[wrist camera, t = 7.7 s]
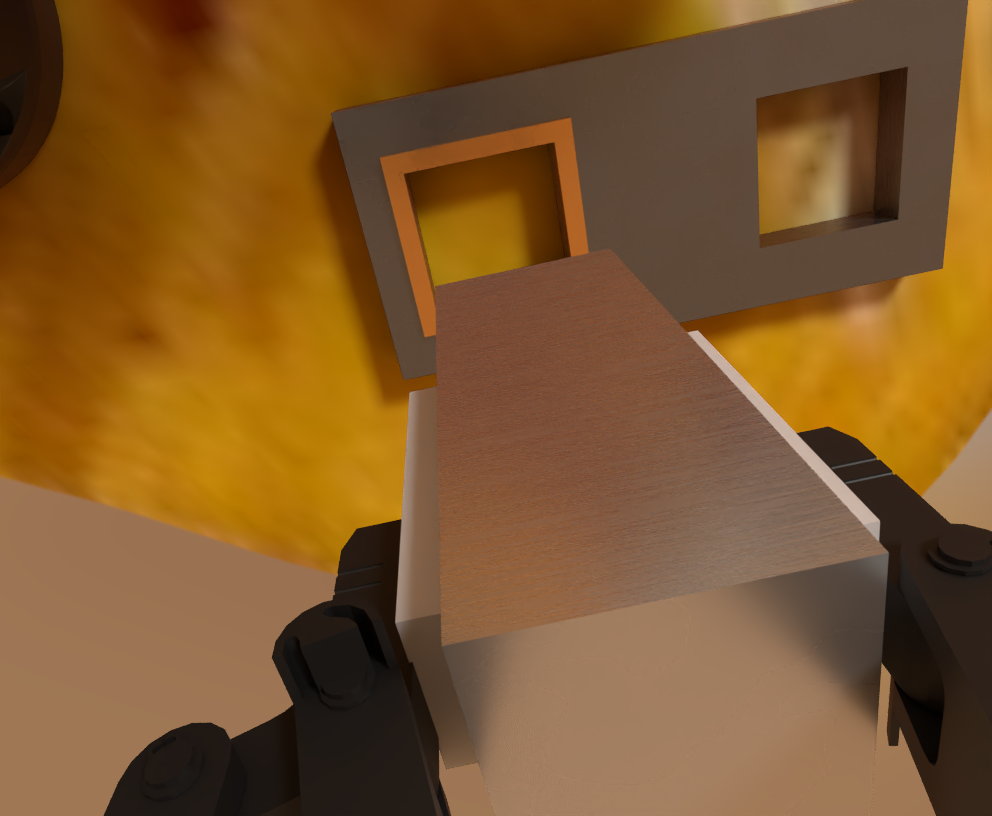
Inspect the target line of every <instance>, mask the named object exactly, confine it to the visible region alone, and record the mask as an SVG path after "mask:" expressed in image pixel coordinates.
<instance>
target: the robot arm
mask: <svg viewBox="0 0 992 816" xmlns="http://www.w3.org/2000/svg"><path fill="white" fill-rule="evenodd" d="M62 77H63V48H62V38H61V30H60V25H59V19H58V14H57V10H56V6H55V2H54V0H0V188H1V187H2V186H4V185H5V184H6V183H8V182H9V181H11V180H12V179H13V178H14V177H15V176H17V175H18V174H19V173H20V172H21V171H22V170H23V169H24V168H25V167H26V166H27V165H28V164H29V163H30V161H31V160H32V159H33V158H34V156H35V155H36V154H37V152H38V151H39V149H40V147H41V146H42V144H43V143H44V141H45V139H46V137H47V135H48V133H49V131H50V128H51V126H52V123H53V121H54V118H55V114H56V111H57V108H58V103H59V99H60V94H61V86H62ZM688 334H689V335H690V336H691V337H692V338H693V339H694V340H695V342H696V343H697V344H698V345H699V346H700V347H701V348H702V349H703V350H704V351H705V352H706V354H707V355H708V356H709V357H710V358H711V359H712V360H713V361H714V362H715V363H716V364H717V366H718V367H719V368H720V369H721V370H722V371H723V372H724V373H725V374H726V375H727V377H728V378H729V379H730V380H731V381H732V382H733V383H734V384H735V385H736V386H737V387H738V389H739V390H740V391H741V392H742V393H743V394H744V395H745V396H746V397H747V398H748V399H749V401H750V402H751V403H752V404H753V405H754V406H755V407H756V408H757V409H758V410H759V411H760V413H761V414H762V415H763V416H764V417H765V418H766V419H767V420H768V421H769V422H770V423H771V425H772V426H773V427H774V428H775V429H776V430H777V431H778V432H779V433H780V434H781V435H782V437H783V438H784V439H785V440H786V441H787V442H788V443H789V444H790V445H791V446H792V447H793V449H794V450H795V451H796V452H797V453H798V454H799V455H800V456H801V457H802V458H803V459H804V461H805V462H806V463H807V464H808V465H809V466H810V467H811V468H812V469H813V470H814V471H815V473H816V474H817V475H818V476H819V477H820V478H821V479H822V480H823V481H824V482H825V483H826V485H827V486H828V487H829V488H830V489H831V490H832V491H833V492H834V493H835V494H836V495H837V497H838V498H839V499H840V500H841V501H842V502H843V503H844V504H845V505H846V506H847V507H848V509H849V510H850V511H851V512H852V513H853V514H854V515H855V516H856V517H857V518H858V519H859V521H860V522H861V523H862V524H863V525H864V526H865V527H866V528H867V529H868V530H869V531H870V533H871V534H872V535H873V536H874V537H875V538H876V539H877V540H878V541H879V542H880V544H881V545H882V546H883V547H884V548H885V549H886V550H887V551H888V552H889V557H888V572H887V587H886V602H885V617H884V632H883V647H882V664H883V665H884V666H885V668H886V669H887V670H888V672H889V673H890V674H891V682H890V683H891V684H890V696H889V708H888V722H887V736H888V742H889V746H898V740H899V728H901V730H902V733H903V735H904V738H905V740H906V742H907V745H908V747H909V750H910V752H911V755H912V757H913V760H914V762H915V765H916V767H917V769H918V772H919V774H920V777H921V779H922V782H923V784H924V787H925V789H926V792H927V794H928V797H929V799H930V802H931V804H932V806H933V809H934V811H935V814H936V816H992V532H991V531H989V530H986V529H982V528H977V527H974V526H969V525H965V524H950V523H949V522H948V521H947V520H946V519H945V518H944V517H943V516H941V515H940V514H939V513H938V512H937V511H936V510H935V509H934V508H933V507H932V506H930V505H929V504H928V503H927V502H926V501H925V500H924V499H923V498H922V497H921V496H919V495H918V494H917V493H916V492H915V491H914V490H913V489H912V488H911V487H910V486H908V485H907V484H906V483H905V482H904V481H903V480H902V479H901V478H900V477H899V476H897V475H896V474H895V475H893V473H892V470H891V469H890V468H889V467H887V466H886V465H885V464H884V463H883V462H882V461H881V460H877V458H876V456H875V455H874V454H873V453H872V452H871V451H870V450H869V449H868V448H867V447H865V446H864V445H863V444H862V443H861V442H860V441H859V440H858V439H856V438H854V437H851V436H849V435H847V434H844V433H842V432H840V431H837V430H835V429H833V428H831V427H824V428H819V429H815V430H810V431H805V432H800V433H795V432H794V430H793V429H792V428H791V427H790V426H789V425H788V424H787V423H786V422H785V421H784V420H783V419H782V418H781V417H780V416H779V415H778V414H777V413H776V412H775V411H774V410H773V409H772V408H771V406H770V405H769V404H768V403H767V402H766V401H765V400H764V399H763V398H762V397H761V396H760V395H759V394H758V393H757V392H756V391H755V390H754V389H753V388H752V387H751V386H750V385H749V383H748V382H747V381H746V380H745V379H744V378H743V377H742V376H741V375H740V374H739V373H738V372H737V371H736V370H735V369H734V368H733V367H732V366H731V365H730V364H729V363H728V362H727V361H726V359H725V358H724V357H723V356H722V355H721V354H720V353H719V352H718V351H717V350H716V349H715V348H714V347H713V346H712V345H711V344H710V343H709V342H708V341H707V340H706V339H705V338H704V337H703V335H702V334H701V333H700V332H699V331H698V330H697V331H692V332H688ZM334 591H335V595H333V600H331V601H327V602H323V603H321V604H319V605H316V606H314V607H313V608H310V609H308V610H306V611H304V612H303V613H301V614H300V615H299V616H298V617H297V618H295V619H294V620H293V621H292V622H291V623H289V624H288V625H287V626H286V627H285V629H284V630H283V632H282V633H281V635H280V636H279V637H278V639H277V640H276V642H275V647H274V651H273V655H272V659H273V661H274V663H275V665H276V667H277V670H278V672H279V674H280V676H281V678H282V680H283V683H284V685H285V687H286V689H287V691H288V693H289V695H290V698H291V700H292V702H293V705H292V706H291V707H290V708H289V709H287V710H286V711H285V712H283V713H282V714H280V715H278V716H276V717H275V718H273V719H271V720H269V721H268V722H265V723H263V724H261V725H259V726H257V727H255V728H253V729H251V730H249V731H247V732H245V733H243V734H241V735H239V736H236V737H234V738H232V739H230V738H229V737H228V735H227V733H226V731H225V730H224V729H223V728H221V727H218V726H217V725H215V724H213V723H191V724H188V725H186V726H182V727H180V728H176V729H174V730H171V731H169V732H168V733H166V734H165V735H163V736H162V737H160V738H158V739H157V740H155V741H153V742H152V743H150V744H149V745H148V746H147V747H146V748H145V749H144V750H143V751H142V752H141V753H140V754H139V755H138V756H137V757H136V758H135V759H134V760H133V761H132V762H131V763H130V765H129V766H128V768H127V769H126V771H125V773H124V774H123V776H122V778H121V779H120V781H119V782H118V784H117V787H116V789H115V791H114V794H113V796H112V798H111V800H110V803H109V805H108V807H107V809H106V812H105V814H104V816H451V814H450V810H449V806H448V802H447V799H446V796H445V793H444V791H443V788H442V785H441V782H440V779H439V750H440V753H441V756H442V758H443V761H444V764H445V767H446V769H450V768H454V767H459V766H464V765H469V764H474V763H478V760H477V757H476V754H475V751H474V748H473V744H472V741H471V738H470V735H469V732H468V728H467V725H466V722H465V719H464V716H463V713H462V709H461V706H460V703H459V700H458V697H457V694H456V690H455V687H454V684H453V681H452V678H451V674H450V671H449V668H448V665H447V662H446V659H445V655H444V652H443V649H442V642H441V586H440V530H439V473H438V417H437V386H436V387H432V388H427V389H422V390H418V391H413V392H410V394H409V410H408V426H407V442H406V458H405V474H404V490H403V507H402V519H400V520H396V521H391V522H386V523H382V524H377V525H372V526H367V527H363V528H358V529H356V531H355V532H354V533H353V535H352V536H351V538H350V539H349V540H348V542H347V543H346V545H345V546H344V547H343V549H342V550H341V556H340V561H339V567H338V577H337V578H336V584H335V589H334Z"/></svg>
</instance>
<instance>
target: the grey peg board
mask: <svg viewBox="0 0 992 816" xmlns="http://www.w3.org/2000/svg"><path fill="white" fill-rule="evenodd" d="M967 6H968V0H853V1H848V2H844V3H839V4H834V5H829V6H825V7H820V8H815V9H811V10H806V11H801V12H796V13H792V14H787V15H782V16H778V17H773V18H768V19H764V20H759V21H754V22H749V23H745V24H740V25H735V26H731V27H726V28H721V29H716V30H712V31H707V32H702V33H698V34H693V35H688V36H683V37H679V38H674V39H669V40H665V41H660V42H655V43H651V44H646V45H641V46H636V47H632V48H627V49H622V50H618V51H613V52H608V53H603V54H599V55H594V56H589V57H585V58H580V59H575V60H570V61H566V62H561V63H556V64H552V65H547V66H542V67H537V68H533V69H528V70H523V71H519V72H514V73H509V74H505V75H500V76H495V77H490V78H486V79H481V80H476V81H472V82H467V83H462V84H457V85H453V86H448V87H443V88H439V89H434V90H429V91H424V92H420V93H415V94H410V95H406V96H401V97H396V98H392V99H387V100H382V101H377V102H373V103H368V104H363V105H359V106H354V107H349V108H344V109H340V110H336V111H334V112H333V113H331V116H332V119H333V123H334V127H335V130H336V134H337V138H338V141H339V145H340V149H341V152H342V156H343V160H344V163H345V167H346V171H347V174H348V178H349V182H350V185H351V189H352V193H353V196H354V200H355V204H356V207H357V211H358V215H359V218H360V222H361V226H362V229H363V233H364V236H365V240H366V244H367V247H368V251H369V255H370V258H371V262H372V266H373V269H374V273H375V277H376V280H377V284H378V288H379V291H380V295H381V299H382V302H383V306H384V310H385V313H386V317H387V321H388V324H389V328H390V332H391V335H392V339H393V343H394V346H395V350H396V354H397V357H398V361H399V365H400V368H401V372H402V376H403V379H404V380H406V379H411V378H416V377H420V376H425V375H430V374H435V373H437V361H436V305H435V289H434V285H433V280H432V276H431V272H430V268H429V264H428V259H427V255H426V251H425V247H424V242H423V238H422V234H421V230H420V226H419V221H418V217H417V213H416V209H415V204H414V200H413V196H412V192H411V187H410V183H409V179H408V175H407V173H410V172H415V171H420V170H424V169H429V168H434V167H439V166H443V165H448V164H453V163H458V162H462V161H467V160H472V159H476V158H481V157H486V156H491V155H495V154H500V153H505V152H510V151H514V150H519V149H524V148H529V147H533V146H538V145H543V144H548V148H549V155H550V161H551V168H552V175H553V182H554V188H555V195H556V202H557V209H558V215H559V222H560V229H561V235H562V242H563V249H564V256H565V258H568V257H573V256H578V255H582V254H587V253H592V252H596V251H601V250H605V249H611V250H612V251H613V252H614V253H615V254H616V255H617V256H618V258H619V259H620V260H621V261H622V262H623V263H624V264H625V265H626V266H627V267H628V268H629V270H630V271H631V272H632V273H633V274H634V275H635V276H636V277H637V278H638V279H639V280H640V282H641V283H642V284H643V285H644V286H645V287H646V288H647V289H648V290H649V291H650V292H651V294H652V295H653V296H654V297H655V298H656V299H657V300H658V301H659V302H660V303H661V304H662V306H663V307H664V308H665V309H666V310H667V311H668V312H669V313H670V314H671V315H672V316H673V318H674V319H675V320H676V321H677V322H678V323H682V322H686V321H691V320H696V319H701V318H706V317H711V316H715V315H720V314H725V313H730V312H735V311H740V310H744V309H749V308H754V307H759V306H764V305H769V304H773V303H778V302H783V301H788V300H793V299H798V298H802V297H807V296H812V295H817V294H822V293H827V292H832V291H836V290H841V289H846V288H851V287H856V286H861V285H865V284H870V283H875V282H880V281H885V280H890V279H894V278H899V277H904V276H909V275H914V274H919V273H923V272H928V271H933V270H938V269H943V259H944V249H945V238H946V227H947V217H948V206H949V196H950V185H951V175H952V164H953V154H954V143H955V132H956V122H957V111H958V101H959V90H960V80H961V69H962V59H963V48H964V37H965V27H966V16H967ZM880 72H881V79H880V99H879V120H878V141H877V161H876V182H875V202H874V211H872V212H867V213H863V214H858V215H853V216H848V217H843V218H838V219H834V220H829V221H824V222H819V223H814V224H810V225H805V226H800V227H795V228H790V229H786V230H781V231H776V232H771V233H766V234H762V235H759V197H758V154H757V111H756V98H761V97H766V96H771V95H775V94H780V93H785V92H789V91H794V90H799V89H804V88H808V87H813V86H818V85H823V84H827V83H832V82H837V81H842V80H846V79H851V78H856V77H861V76H865V75H870V74H875V73H880Z"/></svg>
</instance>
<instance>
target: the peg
mask: <svg viewBox="0 0 992 816" xmlns="http://www.w3.org/2000/svg"><path fill="white" fill-rule="evenodd" d="M435 305H436V361H437V417H438V473H439V530H440V586H441V642H442V649H443V652H444V655H445V659H446V662H447V665H448V668H449V671H450V674H451V678H452V681H453V684H454V687H455V690H456V694H457V697H458V700H459V703H460V706H461V709H462V713H463V716H464V719H465V722H466V725H467V728H468V732H469V735H470V738H471V741H472V744H473V748H474V751H475V754H476V757H477V760H478V763H479V766H480V770H481V773H482V776H483V779H484V782H485V786H486V789H487V792H488V795H489V798H490V801H491V805H492V808H493V811H494V814H495V816H871V810H872V795H873V781H874V766H875V751H876V736H877V721H878V705H879V692H880V676H881V662H882V647H883V632H884V617H885V602H886V587H887V572H888V557H889V552H888V551H887V550H886V549H885V548H884V547H883V546H882V545H881V544H880V542H879V541H878V540H877V539H876V538H875V537H874V536H873V535H872V534H871V533H870V531H869V530H868V529H867V528H866V527H865V526H864V525H863V524H862V523H861V522H860V521H859V519H858V518H857V517H856V516H855V515H854V514H853V513H852V512H851V511H850V510H849V509H848V507H847V506H846V505H845V504H844V503H843V502H842V501H841V500H840V499H839V498H838V497H837V495H836V494H835V493H834V492H833V491H832V490H831V489H830V488H829V487H828V486H827V485H826V483H825V482H824V481H823V480H822V479H821V478H820V477H819V476H818V475H817V474H816V473H815V471H814V470H813V469H812V468H811V467H810V466H809V465H808V464H807V463H806V462H805V461H804V459H803V458H802V457H801V456H800V455H799V454H798V453H797V452H796V451H795V450H794V449H793V447H792V446H791V445H790V444H789V443H788V442H787V441H786V440H785V439H784V438H783V437H782V435H781V434H780V433H779V432H778V431H777V430H776V429H775V428H774V427H773V426H772V425H771V423H770V422H769V421H768V420H767V419H766V418H765V417H764V416H763V415H762V414H761V413H760V411H759V410H758V409H757V408H756V407H755V406H754V405H753V404H752V403H751V402H750V401H749V399H748V398H747V397H746V396H745V395H744V394H743V393H742V392H741V391H740V390H739V389H738V387H737V386H736V385H735V384H734V383H733V382H732V381H731V380H730V379H729V378H728V377H727V375H726V374H725V373H724V372H723V371H722V370H721V369H720V368H719V367H718V366H717V364H716V363H715V362H714V361H713V360H712V359H711V358H710V357H709V356H708V355H707V354H706V352H705V351H704V350H703V349H702V348H701V347H700V346H699V345H698V344H697V343H696V342H695V340H694V339H693V338H692V337H691V336H690V335H689V334H688V333H687V332H686V331H685V330H684V328H683V327H682V326H681V325H680V324H679V323H678V322H677V321H676V320H675V319H674V318H673V316H672V315H671V314H670V313H669V312H668V311H667V310H666V309H665V308H664V307H663V306H662V304H661V303H660V302H659V301H658V300H657V299H656V298H655V297H654V296H653V295H652V294H651V292H650V291H649V290H648V289H647V288H646V287H645V286H644V285H643V284H642V283H641V282H640V280H639V279H638V278H637V277H636V276H635V275H634V274H633V273H632V272H631V271H630V270H629V268H628V267H627V266H626V265H625V264H624V263H623V262H622V261H621V260H620V259H619V258H618V256H617V255H616V254H615V253H614V252H613V251H612V250H611V249H605V250H601V251H596V252H592V253H587V254H582V255H578V256H573V257H568V258H564V259H559V260H555V261H550V262H545V263H541V264H536V265H532V266H527V267H522V268H518V269H513V270H509V271H504V272H499V273H495V274H490V275H485V276H481V277H476V278H472V279H467V280H462V281H458V282H453V283H449V284H444V285H439V286H435Z"/></svg>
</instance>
